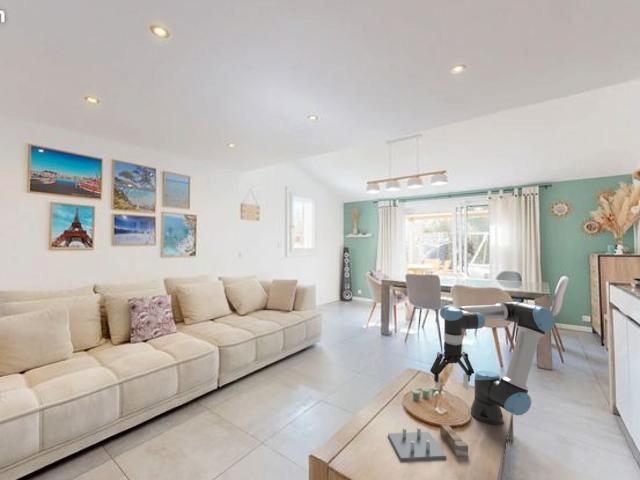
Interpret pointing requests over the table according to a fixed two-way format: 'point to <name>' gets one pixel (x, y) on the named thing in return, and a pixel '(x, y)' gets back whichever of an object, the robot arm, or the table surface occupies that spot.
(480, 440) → the table surface
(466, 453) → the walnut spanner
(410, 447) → the slate peg board
